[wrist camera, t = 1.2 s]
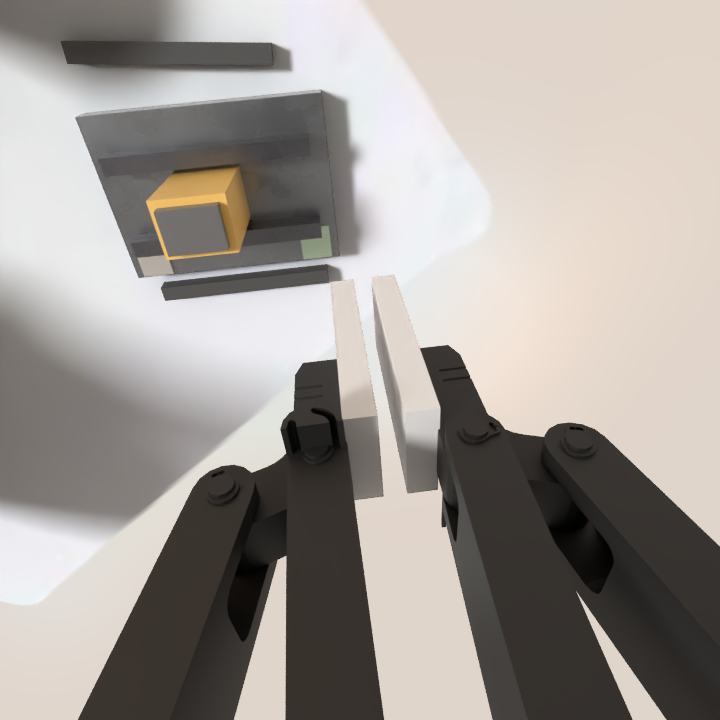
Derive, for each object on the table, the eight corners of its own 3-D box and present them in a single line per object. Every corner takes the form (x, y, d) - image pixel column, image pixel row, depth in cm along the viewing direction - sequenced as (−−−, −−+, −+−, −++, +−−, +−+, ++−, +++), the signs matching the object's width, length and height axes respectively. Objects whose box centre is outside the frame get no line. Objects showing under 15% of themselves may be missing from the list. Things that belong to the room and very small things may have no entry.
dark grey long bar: (168, 294, 34) (165, 300, 34) (164, 282, 34) (160, 288, 33) (328, 276, 35) (328, 282, 34) (326, 264, 34) (327, 270, 33)
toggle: (189, 222, 30) (163, 264, 25) (174, 171, 28) (142, 205, 23) (250, 216, 30) (237, 256, 25) (239, 164, 28) (223, 196, 23)
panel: (144, 268, 33) (132, 287, 31) (85, 113, 27) (63, 121, 25) (338, 247, 34) (340, 264, 31) (320, 89, 28) (322, 95, 25)
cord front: (75, 62, 26) (67, 63, 25) (68, 40, 25) (60, 41, 24) (273, 63, 27) (272, 64, 26) (271, 42, 26) (270, 43, 25)
